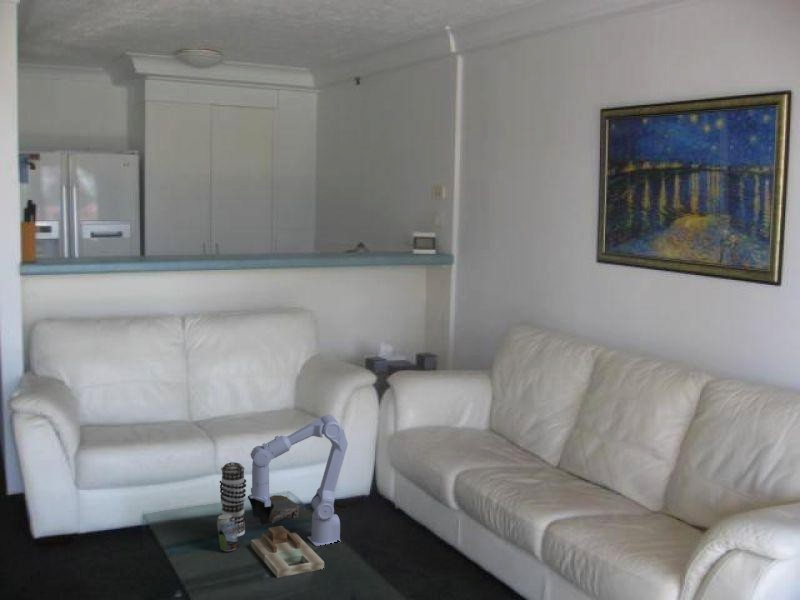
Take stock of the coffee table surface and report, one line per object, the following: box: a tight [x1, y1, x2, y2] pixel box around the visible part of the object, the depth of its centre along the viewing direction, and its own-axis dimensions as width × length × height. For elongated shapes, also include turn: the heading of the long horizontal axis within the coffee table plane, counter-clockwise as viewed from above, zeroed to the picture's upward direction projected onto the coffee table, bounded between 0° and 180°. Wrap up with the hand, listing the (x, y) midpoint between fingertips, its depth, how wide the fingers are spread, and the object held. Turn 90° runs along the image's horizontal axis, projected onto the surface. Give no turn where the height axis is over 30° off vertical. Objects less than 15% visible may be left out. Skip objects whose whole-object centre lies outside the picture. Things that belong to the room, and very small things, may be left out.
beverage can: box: [216, 514, 239, 552], centre depth 326 cm, size 6×7×12 cm
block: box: [267, 525, 288, 544], centre depth 329 cm, size 5×5×4 cm
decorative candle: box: [219, 461, 247, 538], centre depth 339 cm, size 9×9×25 cm
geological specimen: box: [262, 494, 300, 524], centre depth 359 cm, size 11×6×15 cm
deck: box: [250, 529, 325, 579], centre depth 322 cm, size 16×26×4 cm, turn 27°
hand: (260, 519), depth 329 cm, fingers open, 7 cm apart
